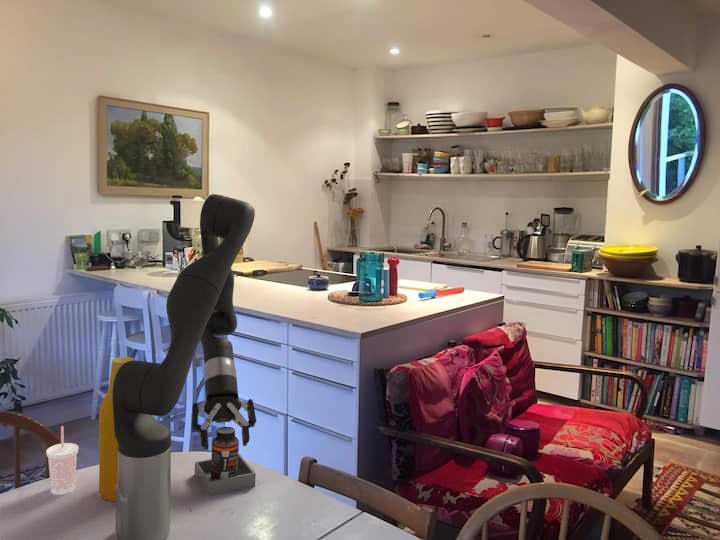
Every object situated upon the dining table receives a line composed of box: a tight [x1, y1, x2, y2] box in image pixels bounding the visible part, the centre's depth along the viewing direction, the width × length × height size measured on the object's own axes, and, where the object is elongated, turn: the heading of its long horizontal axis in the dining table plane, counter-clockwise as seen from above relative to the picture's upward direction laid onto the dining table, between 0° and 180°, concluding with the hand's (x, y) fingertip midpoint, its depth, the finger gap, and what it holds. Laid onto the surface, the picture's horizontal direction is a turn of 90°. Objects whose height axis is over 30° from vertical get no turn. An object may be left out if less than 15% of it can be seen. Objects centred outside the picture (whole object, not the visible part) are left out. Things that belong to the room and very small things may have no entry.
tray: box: [194, 453, 257, 497], centre depth 134 cm, size 11×11×3 cm
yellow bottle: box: [98, 356, 135, 502], centre depth 125 cm, size 9×9×29 cm
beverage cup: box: [46, 425, 79, 495], centre depth 126 cm, size 6×6×14 cm
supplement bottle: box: [210, 426, 240, 480], centre depth 134 cm, size 6×6×11 cm
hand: (226, 446), depth 133 cm, fingers open, 8 cm apart
